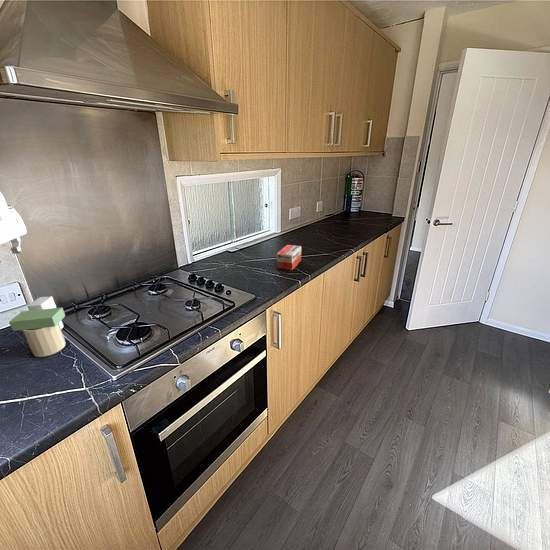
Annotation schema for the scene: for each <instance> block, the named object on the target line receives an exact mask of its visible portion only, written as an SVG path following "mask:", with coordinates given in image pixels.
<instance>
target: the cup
mask: <svg viewBox="0 0 550 550" xmlns="http://www.w3.org/2000/svg"><path fill="white" fill-rule="evenodd" d="M21 331H22V333H23V335H24V337H25V340H26V342H27V345H28V346H29V349H30V352H31V353H32V355H33V356H34V357H36V358H44V357H48V356H52V355H54V354H57V353H58V352H60V351H62V350H63V349H64V348H65V347H66V346H67V345H66V344H67V343H66V342H67V341H66V339H65V337H64V333H63V331H62V329H61V328H60V325H59V323H58V324H57V325H56V326H55V327H45V328H36V329H27V330H21Z"/></svg>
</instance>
